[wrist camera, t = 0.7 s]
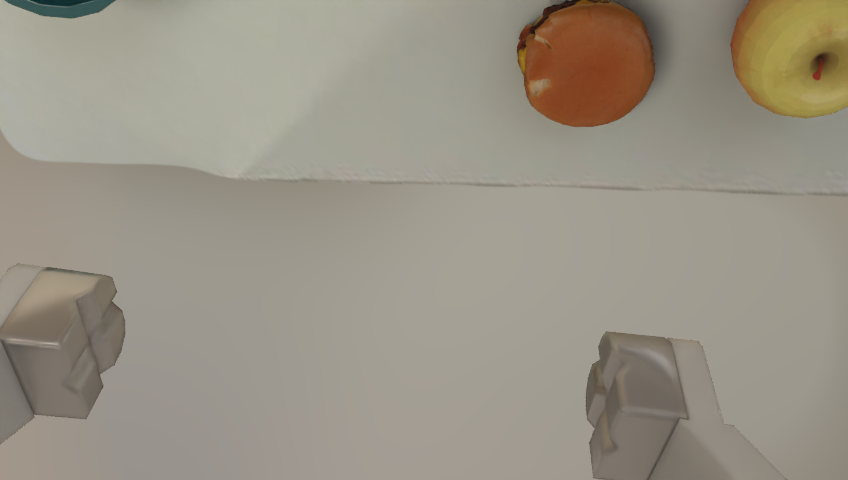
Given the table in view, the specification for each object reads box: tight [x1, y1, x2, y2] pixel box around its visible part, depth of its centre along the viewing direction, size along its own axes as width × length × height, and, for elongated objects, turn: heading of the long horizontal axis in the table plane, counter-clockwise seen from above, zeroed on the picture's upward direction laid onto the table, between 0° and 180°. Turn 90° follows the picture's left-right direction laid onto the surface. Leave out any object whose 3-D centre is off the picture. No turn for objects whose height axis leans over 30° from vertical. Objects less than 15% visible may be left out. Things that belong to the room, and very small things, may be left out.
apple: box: [730, 0, 848, 118], centre depth 49 cm, size 10×10×8 cm
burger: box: [517, 0, 655, 127], centre depth 53 cm, size 10×9×5 cm
